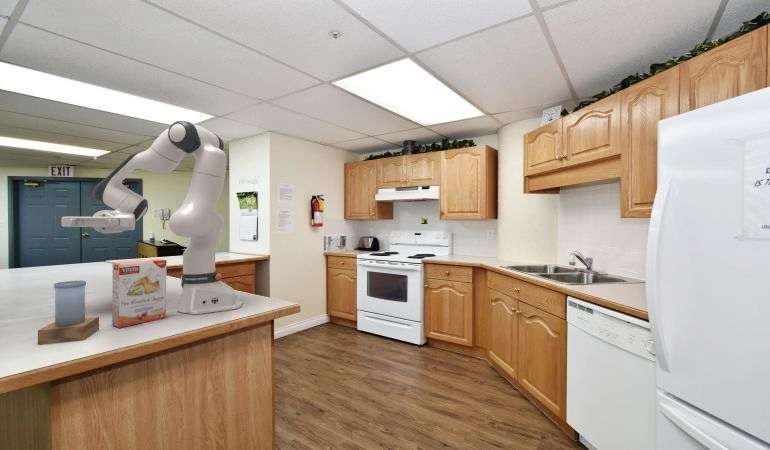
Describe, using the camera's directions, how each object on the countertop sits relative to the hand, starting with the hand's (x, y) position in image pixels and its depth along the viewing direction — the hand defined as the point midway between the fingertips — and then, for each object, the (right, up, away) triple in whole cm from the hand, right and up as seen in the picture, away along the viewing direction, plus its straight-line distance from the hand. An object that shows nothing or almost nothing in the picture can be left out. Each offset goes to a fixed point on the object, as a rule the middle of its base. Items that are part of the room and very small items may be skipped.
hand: (90, 221), depth 112 cm
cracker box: (+17, -34, 0) cm, 38 cm away
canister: (+8, -30, -15) cm, 35 cm away
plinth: (+8, -34, -15) cm, 38 cm away
